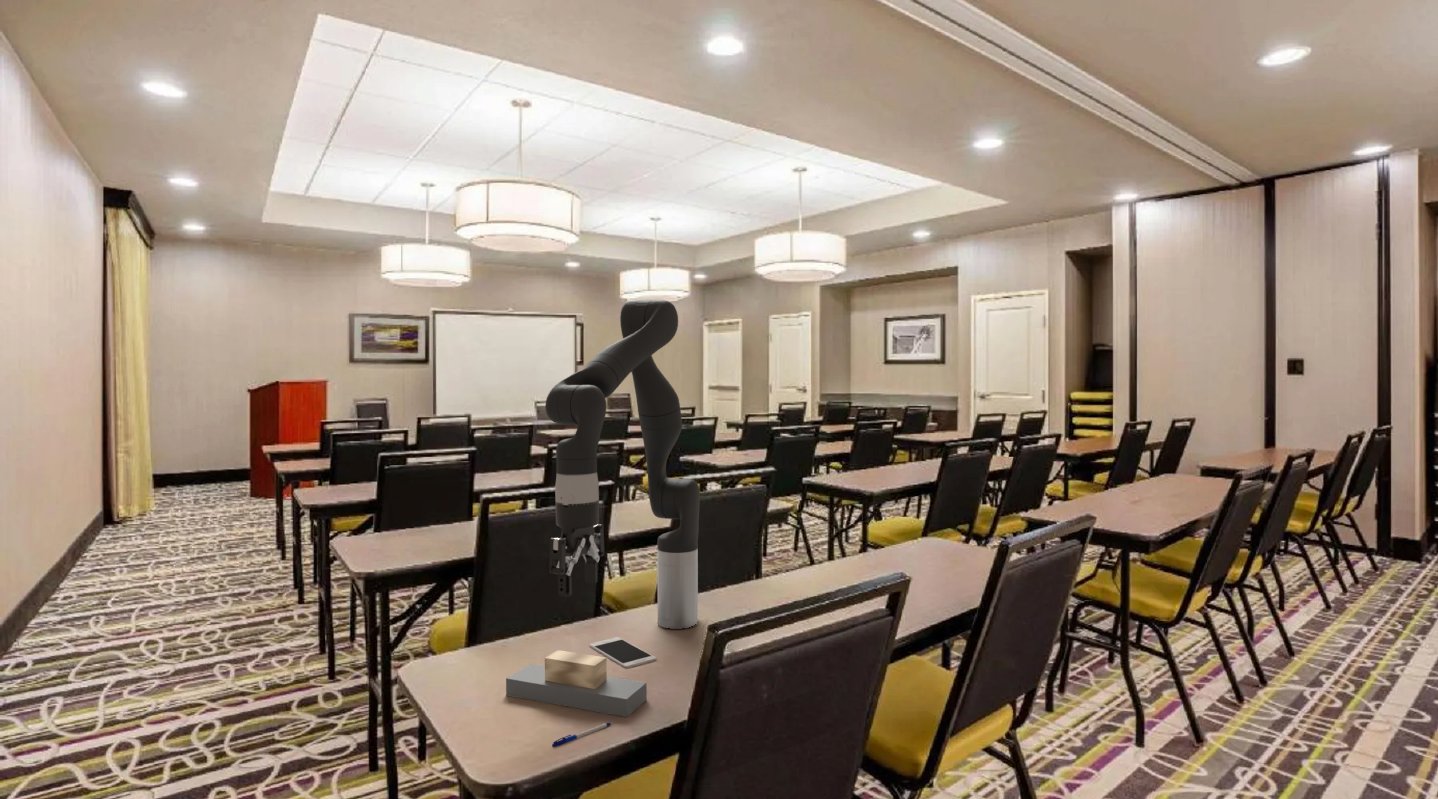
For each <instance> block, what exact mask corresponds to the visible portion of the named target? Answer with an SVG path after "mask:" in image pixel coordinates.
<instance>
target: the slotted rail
mask: <svg viewBox="0 0 1438 799" xmlns="http://www.w3.org/2000/svg"><path fill="white" fill-rule="evenodd" d="M505 679H506V680H505V690H506V692H505V695H506V696H508V697H509V696H510V697H514V698H519V699H525V700H530V701H537V702H542V703H548V704H552V705H558V706H565V707H567V708H568V707H569V708H575V709H580V710H585V711H591V712H595V713H597V712H598V713H602V714H607V715H613V716H619V717H623V718H628V717H629V716H630V715H631V714H632V713H634V711H636V710H637V709H638V708H639V707H641V705H643V703H644V702H645V703H646V701H647V698H648V697H647V694H648V692H647V691H648V690H647V689H648V688H647V687H648V686H647V685H648V684H647V682H645V681H639V680H632V679H628V678H627V679H626V678H620V677H615V676H608V675H607V680H606V681H605V682H604V683H602V684H601V685H600V686H598V687H597V688H596V689H590V688H585V687H579V686H574V685H568V684H562V683H554V682H550V681H545V665H539V664H533V663H530V664H529V665H526V666H524V667H523V668H521V669H519V670H518V671H516V672H515V673H513V674H511V675H509V676H508V677H506V678H505Z"/></svg>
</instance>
